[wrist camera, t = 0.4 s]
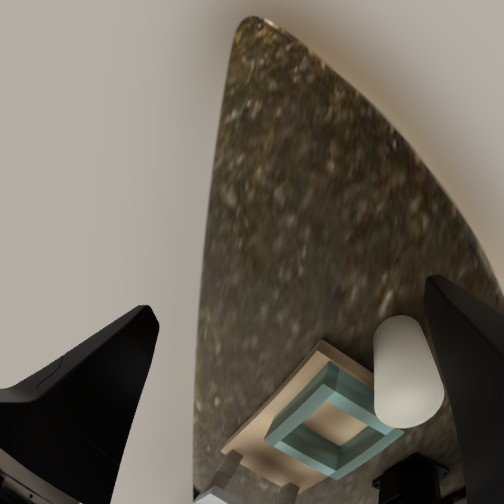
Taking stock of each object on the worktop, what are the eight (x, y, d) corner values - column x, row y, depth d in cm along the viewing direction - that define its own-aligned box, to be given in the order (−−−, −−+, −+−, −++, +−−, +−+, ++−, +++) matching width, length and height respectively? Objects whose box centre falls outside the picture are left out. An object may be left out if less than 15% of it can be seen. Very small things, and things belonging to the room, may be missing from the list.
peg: (432, 332, 19) (457, 391, 12) (399, 369, 20) (408, 437, 13) (395, 305, 20) (410, 358, 12) (362, 344, 21) (359, 409, 14)
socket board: (412, 397, 20) (421, 481, 12) (301, 482, 26) (276, 546, 17) (321, 338, 22) (293, 416, 13) (227, 439, 28) (185, 499, 19)
